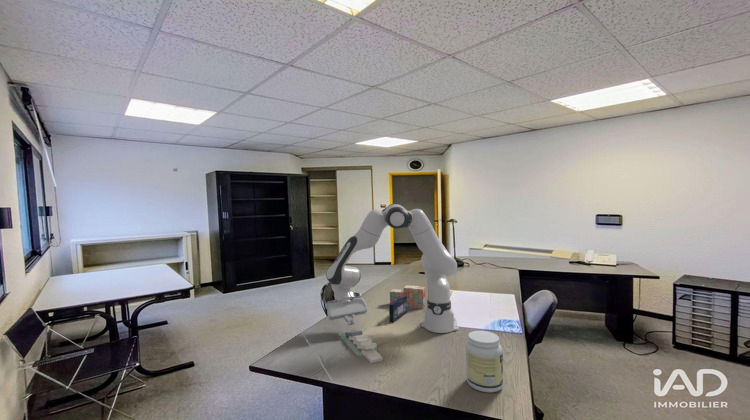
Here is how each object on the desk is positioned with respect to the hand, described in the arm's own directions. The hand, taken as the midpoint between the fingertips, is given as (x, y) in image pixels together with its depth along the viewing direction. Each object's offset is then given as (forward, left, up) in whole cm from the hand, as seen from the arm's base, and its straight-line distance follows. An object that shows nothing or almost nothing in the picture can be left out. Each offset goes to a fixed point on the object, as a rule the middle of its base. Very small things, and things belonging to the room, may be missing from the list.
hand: (351, 324), depth 153 cm
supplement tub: (+23, +61, -7) cm, 65 cm away
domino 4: (+9, +9, -5) cm, 14 cm away
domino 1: (-2, -2, -5) cm, 6 cm away
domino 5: (+13, +13, -5) cm, 19 cm away
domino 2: (+2, +2, -5) cm, 6 cm away
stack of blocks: (-53, +15, -7) cm, 56 cm away
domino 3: (+6, +6, -5) cm, 10 cm away
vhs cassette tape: (-32, +15, -7) cm, 36 cm away
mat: (+5, +5, -6) cm, 9 cm away
